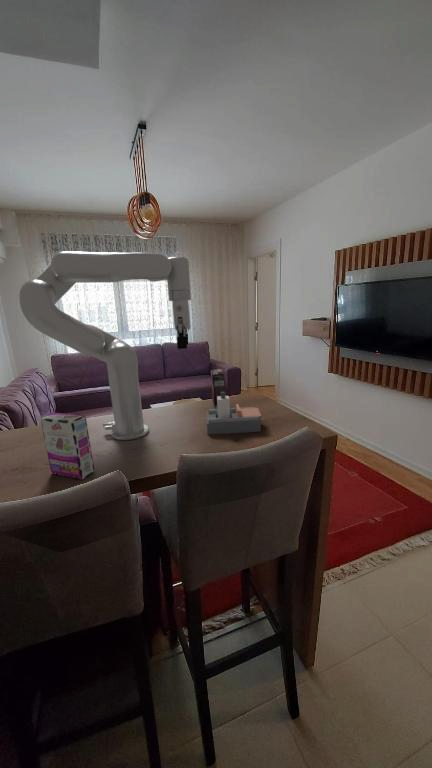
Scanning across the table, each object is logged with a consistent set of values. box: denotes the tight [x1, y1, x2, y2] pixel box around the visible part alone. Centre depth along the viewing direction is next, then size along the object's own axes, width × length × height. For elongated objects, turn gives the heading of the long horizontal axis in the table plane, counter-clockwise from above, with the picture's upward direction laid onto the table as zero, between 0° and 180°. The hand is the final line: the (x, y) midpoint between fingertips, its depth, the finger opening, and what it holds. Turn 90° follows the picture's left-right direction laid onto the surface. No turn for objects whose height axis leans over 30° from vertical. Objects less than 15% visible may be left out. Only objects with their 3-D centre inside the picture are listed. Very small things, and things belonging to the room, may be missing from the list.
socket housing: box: [206, 406, 262, 435], centre depth 112 cm, size 18×11×5 cm, turn 92°
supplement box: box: [210, 368, 226, 409], centre depth 129 cm, size 9×5×16 cm, turn 6°
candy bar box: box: [40, 412, 95, 480], centre depth 85 cm, size 11×5×16 cm, turn 69°
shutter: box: [235, 403, 262, 420], centre depth 111 cm, size 8×8×3 cm
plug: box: [217, 391, 231, 418], centre depth 110 cm, size 4×4×13 cm
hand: (183, 346), depth 112 cm, fingers open, 9 cm apart
